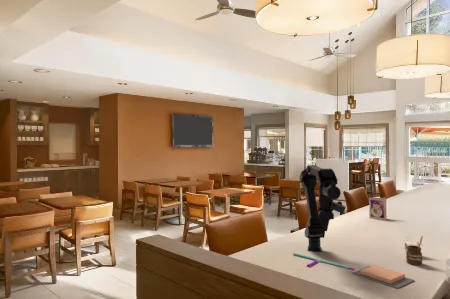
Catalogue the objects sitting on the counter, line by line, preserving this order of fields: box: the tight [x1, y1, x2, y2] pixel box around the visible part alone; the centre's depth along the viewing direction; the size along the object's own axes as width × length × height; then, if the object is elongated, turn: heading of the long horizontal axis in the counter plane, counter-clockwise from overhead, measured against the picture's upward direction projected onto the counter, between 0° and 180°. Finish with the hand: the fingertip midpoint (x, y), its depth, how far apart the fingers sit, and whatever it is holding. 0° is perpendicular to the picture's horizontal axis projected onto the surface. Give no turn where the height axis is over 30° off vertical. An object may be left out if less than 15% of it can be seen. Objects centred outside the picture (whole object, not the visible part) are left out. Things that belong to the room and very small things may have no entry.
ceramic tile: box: [360, 264, 406, 284], centre depth 125 cm, size 2×10×12 cm
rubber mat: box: [352, 265, 415, 290], centre depth 125 cm, size 18×12×1 cm, turn 34°
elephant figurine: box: [403, 240, 424, 253], centre depth 152 cm, size 8×10×7 cm
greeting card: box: [368, 197, 387, 221], centre depth 233 cm, size 11×7×15 cm, turn 43°
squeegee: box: [292, 252, 356, 271], centre depth 140 cm, size 29×2×10 cm
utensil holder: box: [405, 235, 424, 266], centre depth 141 cm, size 6×6×12 cm
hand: (325, 231), depth 146 cm, fingers closed
